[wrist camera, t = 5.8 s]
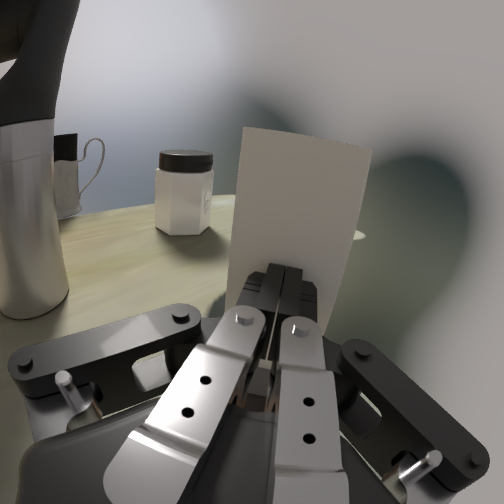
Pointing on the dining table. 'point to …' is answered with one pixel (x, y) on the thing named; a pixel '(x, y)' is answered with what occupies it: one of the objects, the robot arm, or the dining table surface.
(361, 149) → the white grey block
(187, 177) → the jar
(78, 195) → the glass holder
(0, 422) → the dining table surface
